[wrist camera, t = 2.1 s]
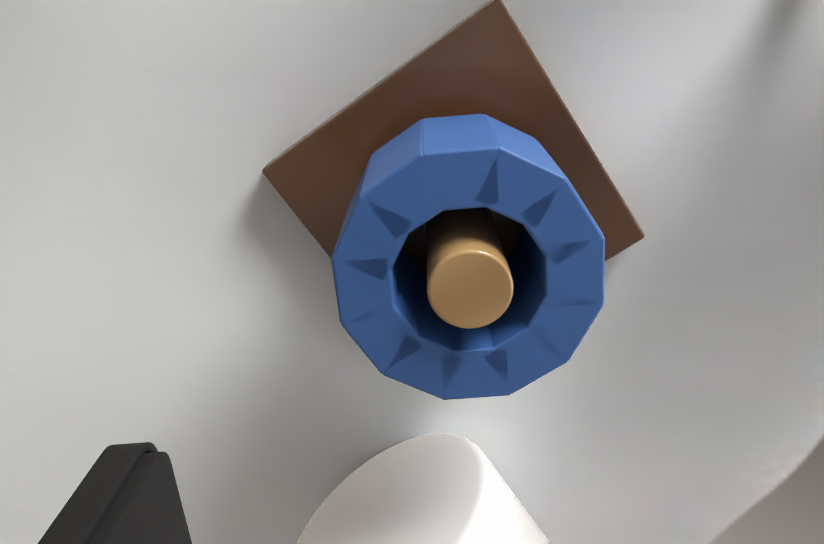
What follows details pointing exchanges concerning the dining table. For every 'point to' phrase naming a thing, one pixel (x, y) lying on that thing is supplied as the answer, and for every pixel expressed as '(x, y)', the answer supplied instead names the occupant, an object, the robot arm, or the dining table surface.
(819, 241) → the dining table surface
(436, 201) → the blue hollow cylinder
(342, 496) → the mug
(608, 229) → the dowel stand
